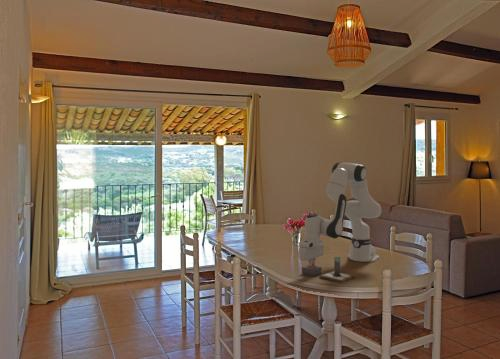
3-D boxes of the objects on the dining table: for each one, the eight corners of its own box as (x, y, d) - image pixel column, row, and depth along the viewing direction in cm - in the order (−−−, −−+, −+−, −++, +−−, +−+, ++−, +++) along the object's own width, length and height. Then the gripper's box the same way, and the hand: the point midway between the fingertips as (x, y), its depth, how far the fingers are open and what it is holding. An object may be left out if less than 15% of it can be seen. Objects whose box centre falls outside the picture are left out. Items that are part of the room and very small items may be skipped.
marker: (336, 273, 243) (336, 256, 242) (341, 275, 241) (341, 257, 240) (332, 275, 240) (333, 257, 240) (338, 276, 238) (338, 258, 238)
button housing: (310, 271, 254) (310, 264, 254) (321, 273, 249) (321, 266, 249) (302, 273, 248) (302, 266, 248) (313, 276, 243) (313, 269, 243)
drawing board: (332, 272, 250) (332, 270, 250) (354, 277, 241) (354, 275, 241) (319, 277, 240) (319, 275, 240) (341, 283, 231) (341, 280, 231)
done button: (310, 269, 251) (310, 264, 251) (316, 270, 249) (316, 265, 248) (306, 270, 248) (307, 265, 248) (312, 272, 246) (312, 266, 246)
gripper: (317, 238, 257) (317, 261, 258) (297, 243, 242) (297, 267, 243) (326, 240, 253) (326, 263, 254) (306, 245, 238) (306, 269, 239)
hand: (311, 265), depth 248 cm, fingers closed, pressing on done button
